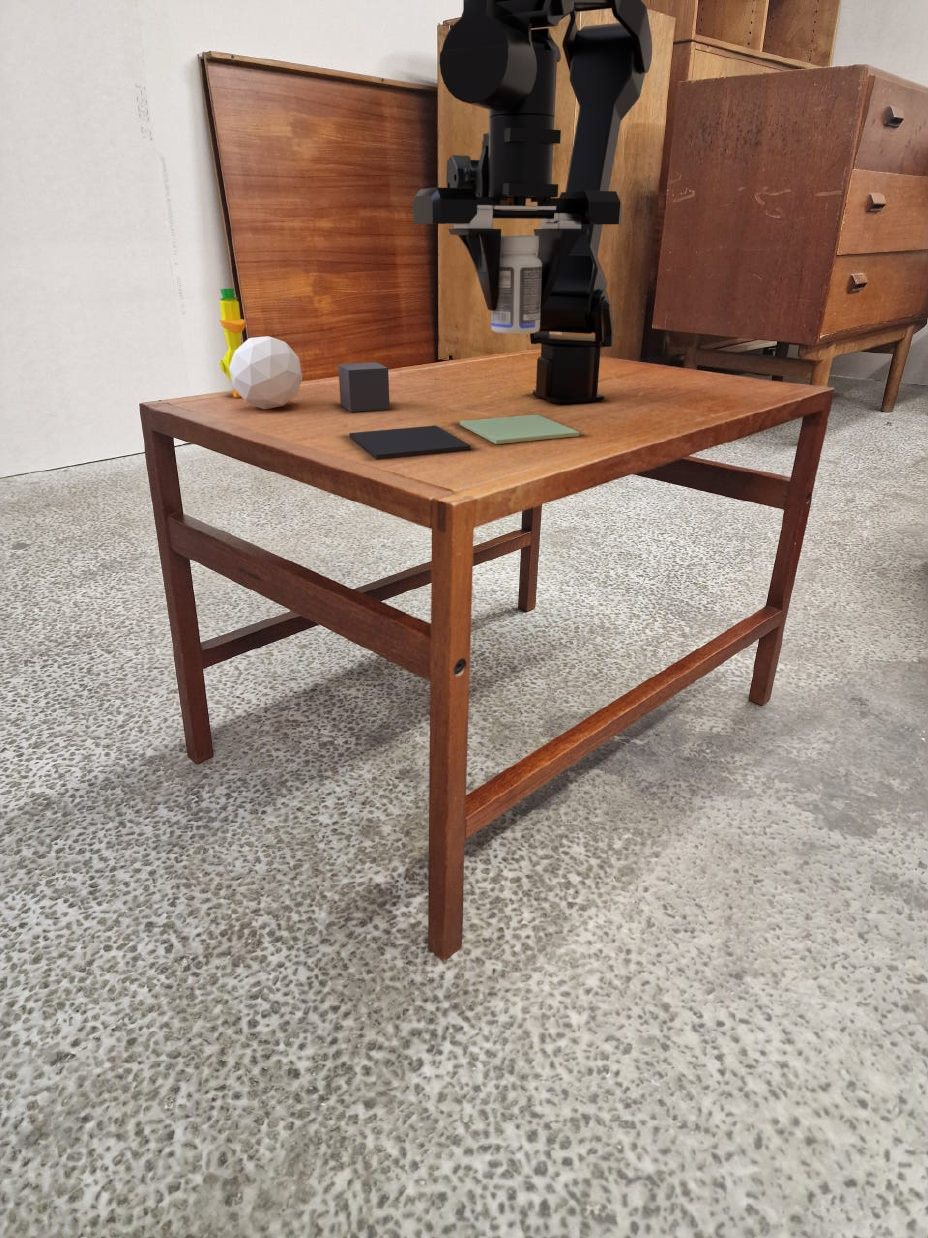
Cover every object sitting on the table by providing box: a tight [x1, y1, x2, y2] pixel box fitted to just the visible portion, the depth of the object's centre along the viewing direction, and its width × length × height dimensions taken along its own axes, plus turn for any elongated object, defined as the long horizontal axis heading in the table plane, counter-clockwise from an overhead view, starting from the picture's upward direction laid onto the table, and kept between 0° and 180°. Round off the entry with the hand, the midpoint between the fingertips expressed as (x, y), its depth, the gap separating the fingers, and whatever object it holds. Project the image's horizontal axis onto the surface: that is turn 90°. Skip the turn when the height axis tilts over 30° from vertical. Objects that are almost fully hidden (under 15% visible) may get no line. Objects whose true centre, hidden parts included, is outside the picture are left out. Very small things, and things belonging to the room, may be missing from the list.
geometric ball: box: [229, 335, 303, 411], centre depth 89 cm, size 8×8×8 cm
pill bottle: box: [490, 234, 542, 335], centre depth 76 cm, size 5×5×8 cm
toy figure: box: [219, 288, 247, 398], centre depth 94 cm, size 7×4×12 cm, turn 26°
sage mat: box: [459, 414, 580, 445], centre depth 80 cm, size 9×9×1 cm
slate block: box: [337, 361, 391, 413], centre depth 90 cm, size 4×4×4 cm
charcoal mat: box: [348, 425, 472, 460], centre depth 75 cm, size 9×9×1 cm
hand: (516, 309), depth 77 cm, fingers closed on pill bottle, 5 cm apart
